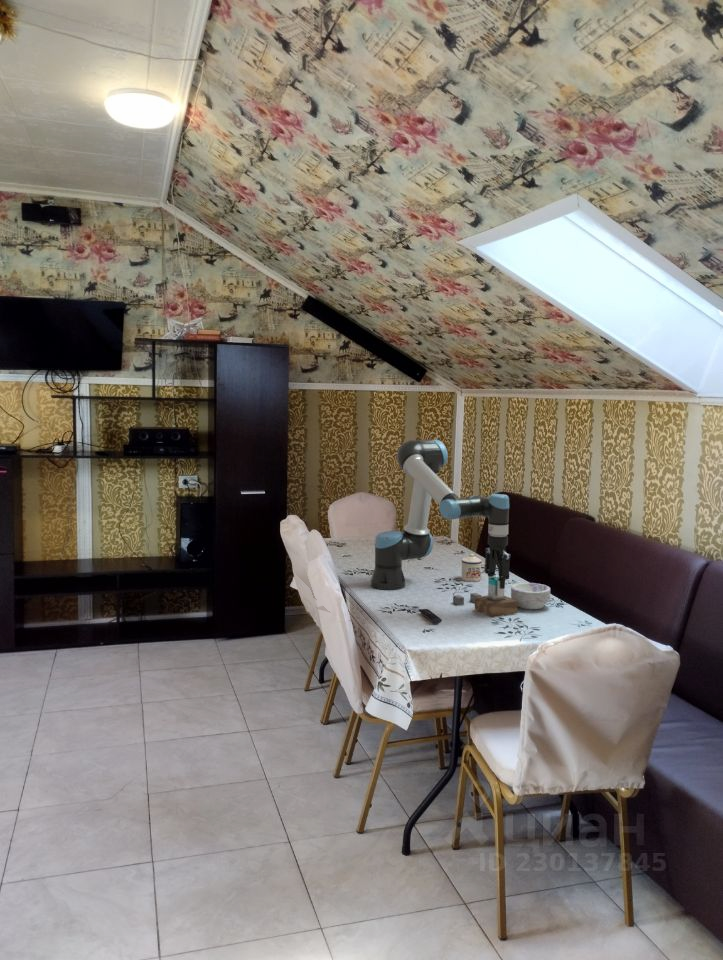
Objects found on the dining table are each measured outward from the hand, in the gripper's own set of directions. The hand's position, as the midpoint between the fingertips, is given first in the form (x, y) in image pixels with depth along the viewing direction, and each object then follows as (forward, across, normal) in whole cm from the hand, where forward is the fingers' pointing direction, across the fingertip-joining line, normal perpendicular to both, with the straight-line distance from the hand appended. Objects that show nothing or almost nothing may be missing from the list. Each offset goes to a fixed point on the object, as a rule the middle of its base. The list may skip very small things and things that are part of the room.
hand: (496, 594), depth 291 cm
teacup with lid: (+7, -46, +22) cm, 51 cm away
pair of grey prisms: (+7, -15, -3) cm, 17 cm away
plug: (+6, 0, 0) cm, 6 cm away
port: (+7, 0, 0) cm, 7 cm away
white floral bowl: (+7, 0, +17) cm, 18 cm away
